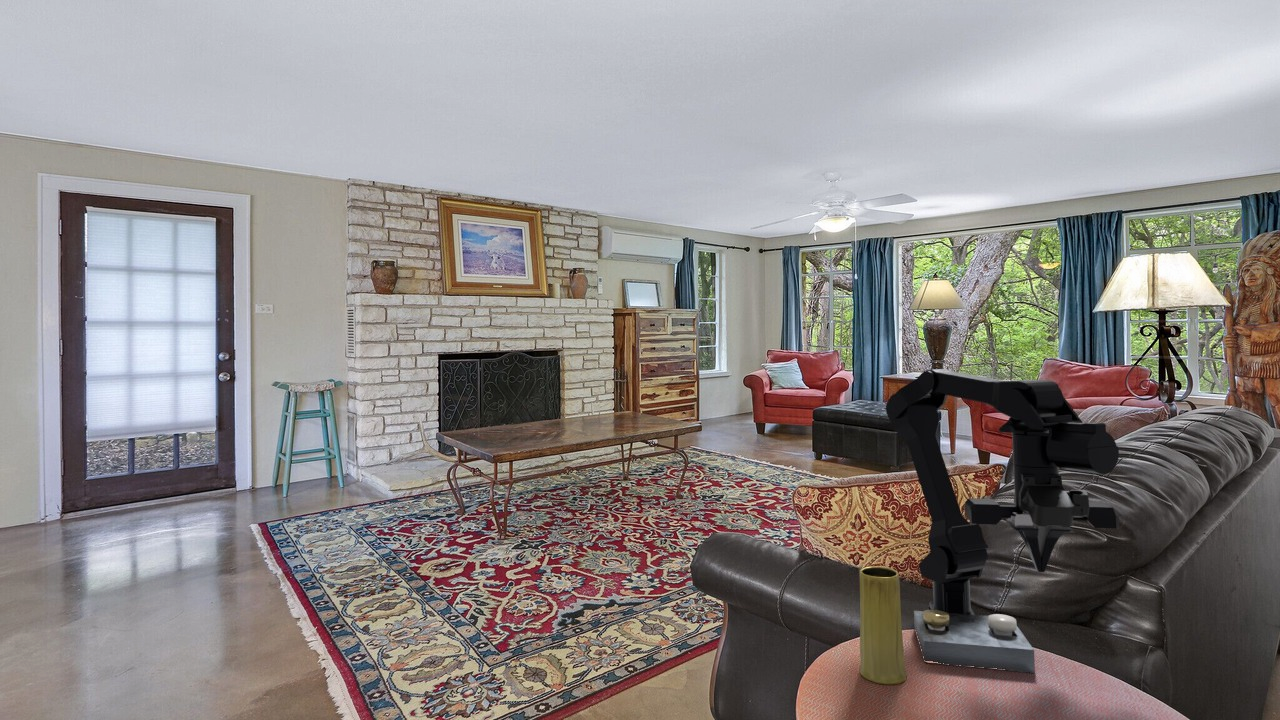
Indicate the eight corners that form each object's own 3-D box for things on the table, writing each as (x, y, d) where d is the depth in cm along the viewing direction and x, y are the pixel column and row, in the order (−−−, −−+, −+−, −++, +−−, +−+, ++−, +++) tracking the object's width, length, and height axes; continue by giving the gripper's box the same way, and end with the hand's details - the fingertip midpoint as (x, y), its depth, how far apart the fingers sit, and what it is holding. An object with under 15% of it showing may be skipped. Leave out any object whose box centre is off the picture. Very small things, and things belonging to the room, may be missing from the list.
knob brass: (922, 640, 100) (921, 608, 100) (948, 642, 99) (946, 610, 99) (926, 650, 96) (924, 617, 97) (952, 652, 95) (951, 619, 96)
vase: (898, 665, 92) (895, 565, 93) (912, 686, 86) (908, 578, 87) (855, 664, 93) (851, 565, 93) (865, 685, 87) (861, 578, 87)
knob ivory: (987, 645, 97) (985, 613, 97) (1014, 648, 96) (1012, 615, 96) (992, 656, 94) (991, 622, 94) (1020, 658, 93) (1019, 624, 93)
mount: (914, 630, 104) (913, 610, 104) (1011, 638, 100) (1010, 617, 100) (924, 663, 93) (923, 640, 93) (1035, 673, 89) (1034, 649, 89)
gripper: (977, 472, 90) (982, 585, 90) (1134, 474, 85) (1140, 594, 84) (961, 461, 101) (966, 562, 100) (1100, 462, 95) (1105, 568, 95)
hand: (1040, 571), depth 95 cm, fingers closed
